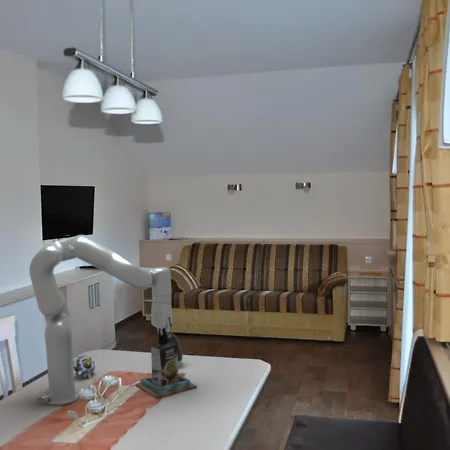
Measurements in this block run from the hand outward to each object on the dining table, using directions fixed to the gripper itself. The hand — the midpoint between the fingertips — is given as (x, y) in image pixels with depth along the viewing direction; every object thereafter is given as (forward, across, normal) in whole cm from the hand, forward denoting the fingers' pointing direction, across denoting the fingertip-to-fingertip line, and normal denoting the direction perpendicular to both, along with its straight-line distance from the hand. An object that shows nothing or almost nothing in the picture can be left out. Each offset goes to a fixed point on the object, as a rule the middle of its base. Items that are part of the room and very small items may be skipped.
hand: (163, 343), depth 217 cm
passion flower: (+18, -35, -20) cm, 44 cm away
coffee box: (+17, +1, 0) cm, 17 cm away
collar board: (+18, 0, +1) cm, 18 cm away
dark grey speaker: (+18, -20, +15) cm, 30 cm away
